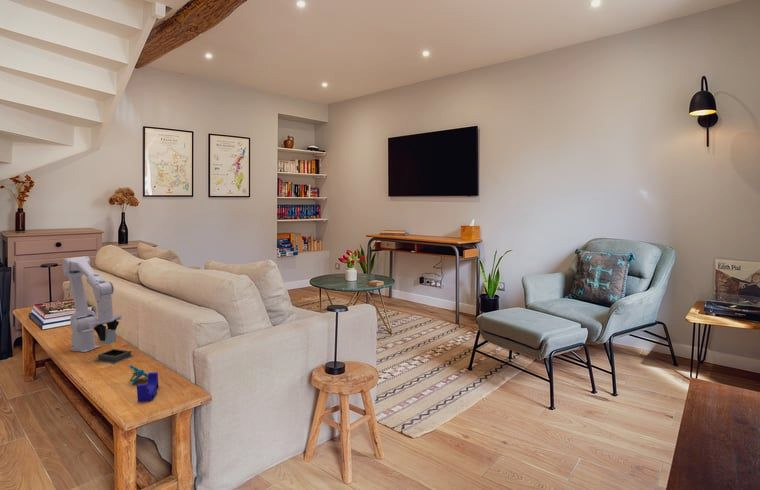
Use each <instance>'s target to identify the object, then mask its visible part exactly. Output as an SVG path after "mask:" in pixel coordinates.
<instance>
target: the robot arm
mask: <svg viewBox="0 0 760 490" xmlns="http://www.w3.org/2000/svg"><path fill="white" fill-rule="evenodd" d="M61 265H62V266H61V267H62V271H63V275H64V276H65V277H67V279H68V281H69V286H70V290H71V295H72V301H73V305H74V308H75V312H74V313H72V314H71V316H70V319H69V320H70V325H69V326H70V329H71V330H72V333H71V335H70V336H71V337H70V339H71V340H70V341H71V348H70V351H75V352H81V353H87V352H89V351H92V350H94V349H99V348H100V347H101V346H100V345H98V344H97V345H96V338H95V337H96V336H95V333H97V337H98V336H99V338H100V341H105V330H106V329H112V330H115V332H116V331H117V327H118V326H119V324H120V321H121V320H122V318H123V317H122V314H117V315H116V314H115V315H114V314H113V313H114V312H113V298H112V295H113V294H114V291H115V290H114V284H113V283H112V282H111V281H109V280H108V281H107V280H106V279H104V277H103V276H102V275H101V274H100V273H98V272H95V271H94V270H93V269H94V268H92V266H91V259H90V257H89V256H87V255H84V256H83V255H82V256H74V257H64V258H63V260H62V264H61ZM83 275H84V277H86V282H87V283H88V285H89V286H90V287H91V288H92V292H93V295H94V299H95V301H96V309H97V310H96V311H97V315H96V312H95V311H93V310H91V309H90V308H89V306H88V301H87V297H86V293H85V288H84V284H83V283H84V282H83V280H82V279H83V278H82V277H83ZM119 320H120V321H119ZM105 324H106V326H105Z"/></svg>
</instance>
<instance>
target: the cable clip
mask: <svg viewBox="0 0 760 490" xmlns="http://www.w3.org/2000/svg"><path fill="white" fill-rule="evenodd" d="M147 375H148V378H147V382H146V383H139V384H137V385H136V394H137V396H136V397H137V402H138V403H139V402H152V401H153V400H154V398H155V397H156V396H157V395H158V388H159V373H158V371H152V372H149V373H147Z"/></svg>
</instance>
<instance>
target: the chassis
mask: <svg viewBox="0 0 760 490" xmlns="http://www.w3.org/2000/svg"><path fill="white" fill-rule="evenodd" d="M131 352H132V351H130V350H127V349H126V350H124V349H117V348H112V349H110V350H107V351H105V352H101V353H99V354H97V357H98V358H97V359H95V360H94V361H95V362H101V363H106V364H111V365H112V364H114V365H115V364H117V363H119V362H122V361H125V360H127V359H130V358H132V357H134V356H135V355H134V354H132V353H131Z"/></svg>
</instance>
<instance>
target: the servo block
mask: <svg viewBox="0 0 760 490" xmlns="http://www.w3.org/2000/svg"><path fill="white" fill-rule="evenodd" d="M116 342H117V335H116V331H115V330H112V329H108V328H106V330H105V341H100V338H99V336H98V335H97V344H103V345H111V344H113V343H116Z"/></svg>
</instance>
